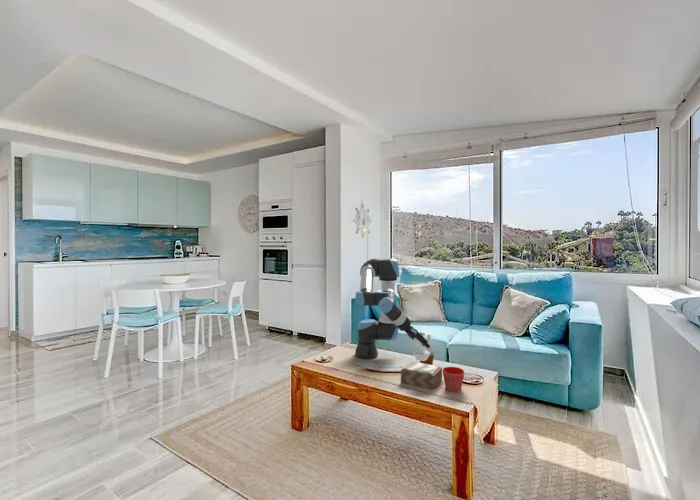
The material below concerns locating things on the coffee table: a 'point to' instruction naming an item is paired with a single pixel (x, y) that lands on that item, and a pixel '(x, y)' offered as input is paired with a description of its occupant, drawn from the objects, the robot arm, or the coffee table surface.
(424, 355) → the figurine
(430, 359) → the disposable coffee cup
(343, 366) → the coffee table surface
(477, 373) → the coffee table surface
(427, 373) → the chevron patterned box
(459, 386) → the flower pot
